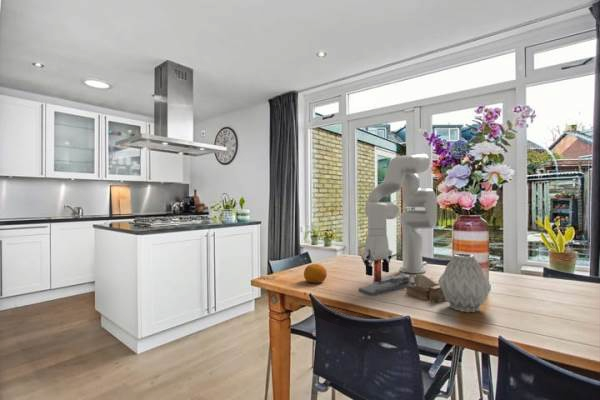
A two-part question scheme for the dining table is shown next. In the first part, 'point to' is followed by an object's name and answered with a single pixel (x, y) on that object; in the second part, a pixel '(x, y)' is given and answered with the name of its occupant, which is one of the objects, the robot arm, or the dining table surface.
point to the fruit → (315, 273)
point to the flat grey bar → (385, 287)
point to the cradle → (426, 292)
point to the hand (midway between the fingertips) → (377, 273)
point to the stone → (423, 281)
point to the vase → (464, 283)
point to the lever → (392, 280)
